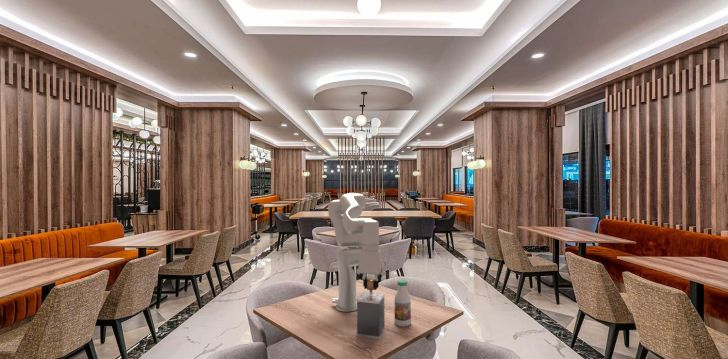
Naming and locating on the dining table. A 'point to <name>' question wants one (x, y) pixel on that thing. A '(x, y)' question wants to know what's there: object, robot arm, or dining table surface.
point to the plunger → (370, 285)
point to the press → (370, 315)
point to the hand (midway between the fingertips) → (370, 288)
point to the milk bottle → (402, 305)
